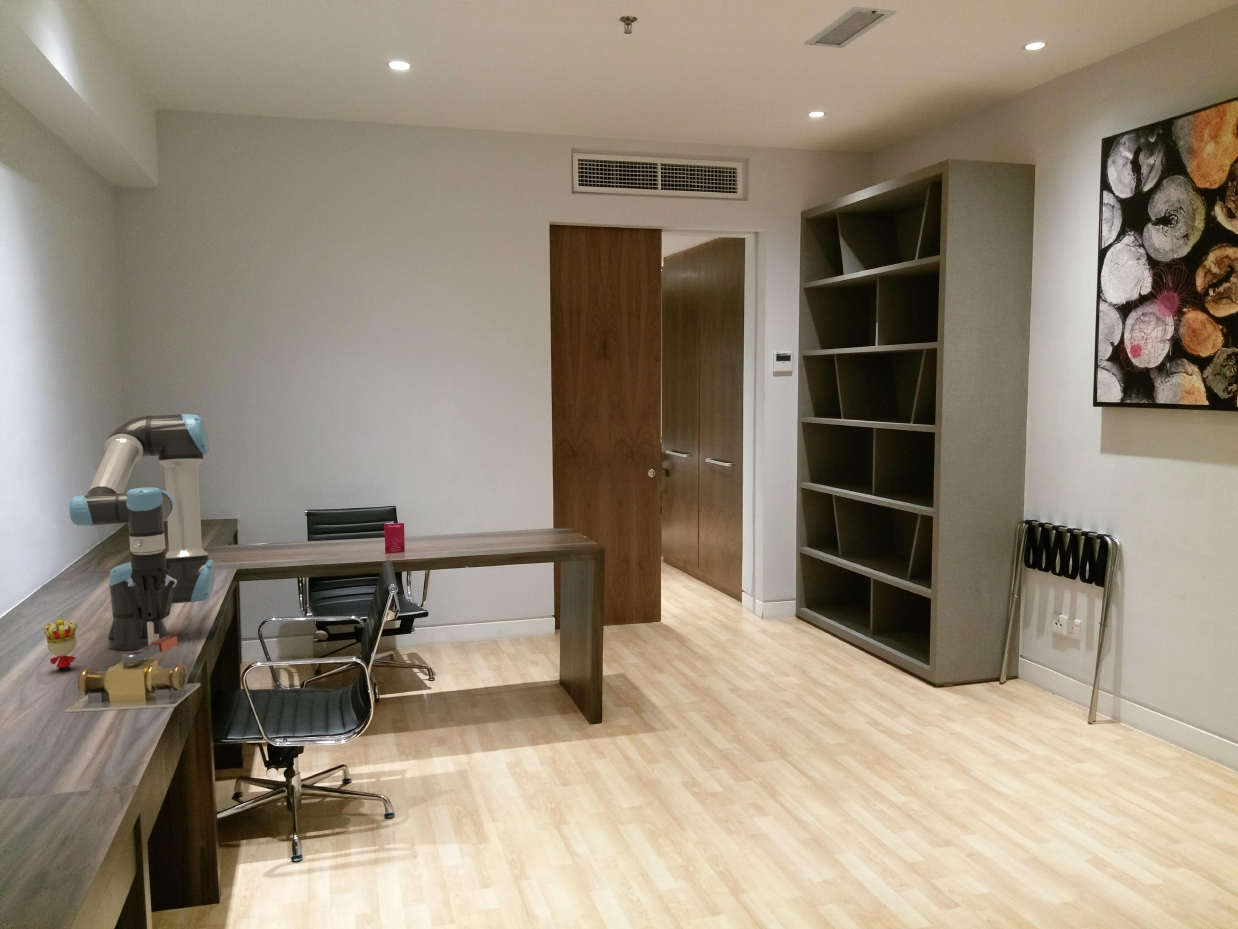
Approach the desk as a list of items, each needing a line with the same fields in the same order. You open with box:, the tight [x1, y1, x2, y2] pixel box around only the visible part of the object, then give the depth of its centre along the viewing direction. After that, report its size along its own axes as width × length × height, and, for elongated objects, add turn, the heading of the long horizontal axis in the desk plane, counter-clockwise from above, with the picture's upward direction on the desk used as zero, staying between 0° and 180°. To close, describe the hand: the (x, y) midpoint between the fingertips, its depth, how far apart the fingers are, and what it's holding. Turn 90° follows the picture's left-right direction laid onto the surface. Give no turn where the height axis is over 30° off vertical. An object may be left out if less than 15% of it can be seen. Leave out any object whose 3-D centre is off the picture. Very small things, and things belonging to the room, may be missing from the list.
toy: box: [43, 613, 78, 673], centre depth 226 cm, size 7×7×15 cm
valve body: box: [64, 659, 201, 713], centre depth 205 cm, size 24×14×8 cm, turn 94°
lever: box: [121, 635, 179, 667], centre depth 210 cm, size 16×4×2 cm, turn 172°
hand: (154, 646), depth 215 cm, fingers closed
